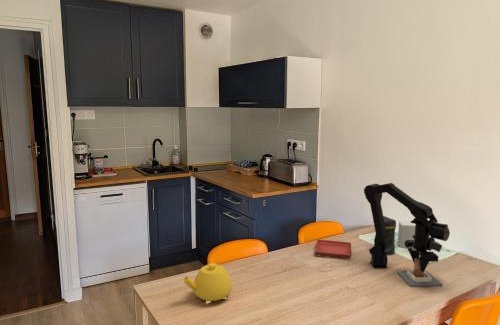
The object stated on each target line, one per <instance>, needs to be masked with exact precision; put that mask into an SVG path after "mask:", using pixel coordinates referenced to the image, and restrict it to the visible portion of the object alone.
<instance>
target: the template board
mask: <svg viewBox="0 0 500 325" xmlns="http://www.w3.org/2000/svg"><path fill="white" fill-rule="evenodd" d="M396 274H397V275H398V276H399V278H401V279H402V281H404V283H405V284H407V286H409V288H417V287H419V288H420V287H427V288H428V287H443V283H442V282H441V281H440V280H438V279H437V278H436V277H435V276H433V275H432V273H430V272H429V271H428V270H425V271H424V277H415V276H414V269H412V270H411V269H410V270H405V271H402V270H401V271H397V270H396Z"/></svg>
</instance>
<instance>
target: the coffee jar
mask: <svg viewBox="0 0 500 325" xmlns="http://www.w3.org/2000/svg"><path fill="white" fill-rule="evenodd" d="M383 217H384V222H385V228H386V232H387V234H388V235H389V236H390V235H392V241H393V243H394V244H393V247H392V248H391V249H390V250H389V252H388V253H386V254H387V255H389V256H390V255H393V254H395V253H396V252H395V250H396V246H395V243H396V242H395V237H396V234H395V232H396V228H397V220H395V219H393V218H390V217H388V216H385V215H383Z"/></svg>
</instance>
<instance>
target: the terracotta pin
mask: <svg viewBox="0 0 500 325" xmlns="http://www.w3.org/2000/svg"><path fill="white" fill-rule="evenodd" d="M413 265H414V266H413V268H414V269H413V270H414V276H415V277H424V272H421V269H420V265H419V261H418V258H414V262H413Z"/></svg>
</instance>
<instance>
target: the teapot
mask: <svg viewBox="0 0 500 325" xmlns="http://www.w3.org/2000/svg"><path fill="white" fill-rule="evenodd" d="M182 281H183V283H185V284H186V285H187V286H188V287H189V288H190V289H191V290H192V291H193V292H194V295H195V296H197V297H198V298H199V299H201V300H204V301H205V300H207V301H212V302H213V301H214V302H215V301H219V300H221V299H223V298H225V297H227V296H229V294H230V293H231V292H232V290H233V283H232V279H231V276H230V274H229V273H228V271H227V270H226V269H225V267H224V266H222V265H221V264H217V263H215V262H211V263H208V264H206V265H204V266H202V267H201V268H200V269H199V271H198V272H197V273H196V276H195V278H194V280H192V279H191V278H190V277H189V276H188V275H187V276H184V277H183V280H182Z"/></svg>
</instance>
